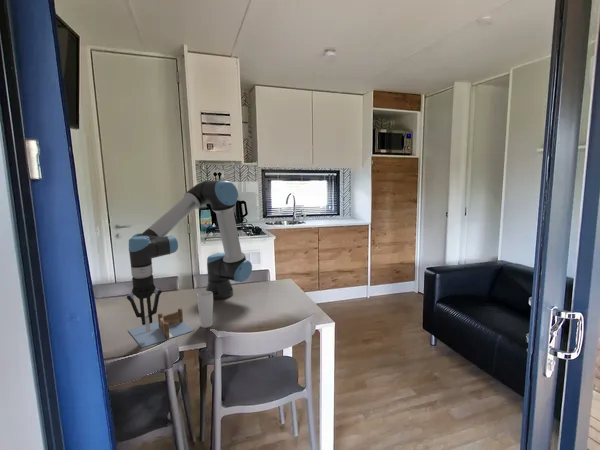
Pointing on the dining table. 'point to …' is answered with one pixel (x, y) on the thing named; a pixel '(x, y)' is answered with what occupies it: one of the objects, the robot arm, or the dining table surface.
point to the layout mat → (158, 333)
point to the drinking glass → (205, 308)
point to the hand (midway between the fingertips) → (148, 331)
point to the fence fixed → (174, 317)
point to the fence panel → (163, 325)
